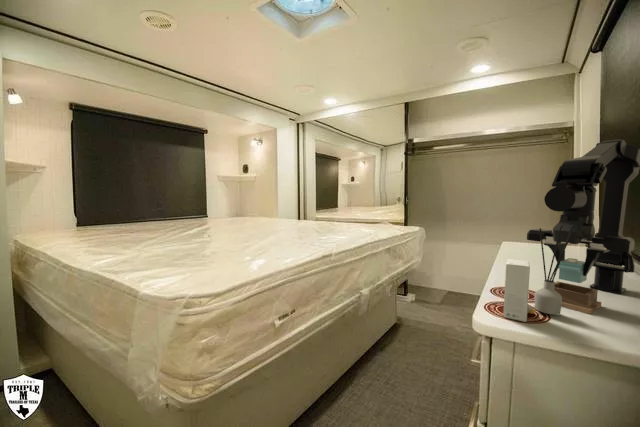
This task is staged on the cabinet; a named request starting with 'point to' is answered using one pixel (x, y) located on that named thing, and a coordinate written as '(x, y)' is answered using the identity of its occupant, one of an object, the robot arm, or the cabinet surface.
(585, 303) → the pocket holder
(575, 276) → the block
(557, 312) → the reed diffuser
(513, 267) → the skincare box
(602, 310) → the cabinet surface
